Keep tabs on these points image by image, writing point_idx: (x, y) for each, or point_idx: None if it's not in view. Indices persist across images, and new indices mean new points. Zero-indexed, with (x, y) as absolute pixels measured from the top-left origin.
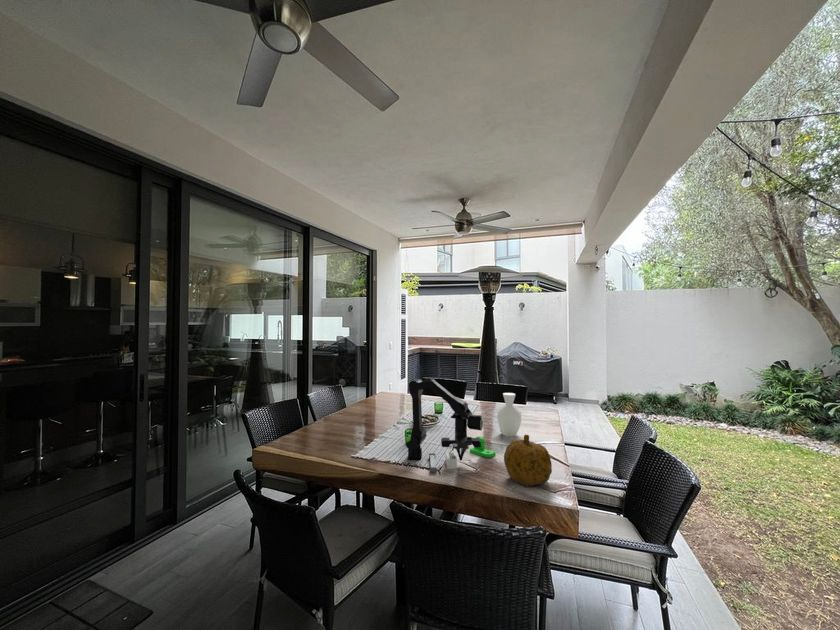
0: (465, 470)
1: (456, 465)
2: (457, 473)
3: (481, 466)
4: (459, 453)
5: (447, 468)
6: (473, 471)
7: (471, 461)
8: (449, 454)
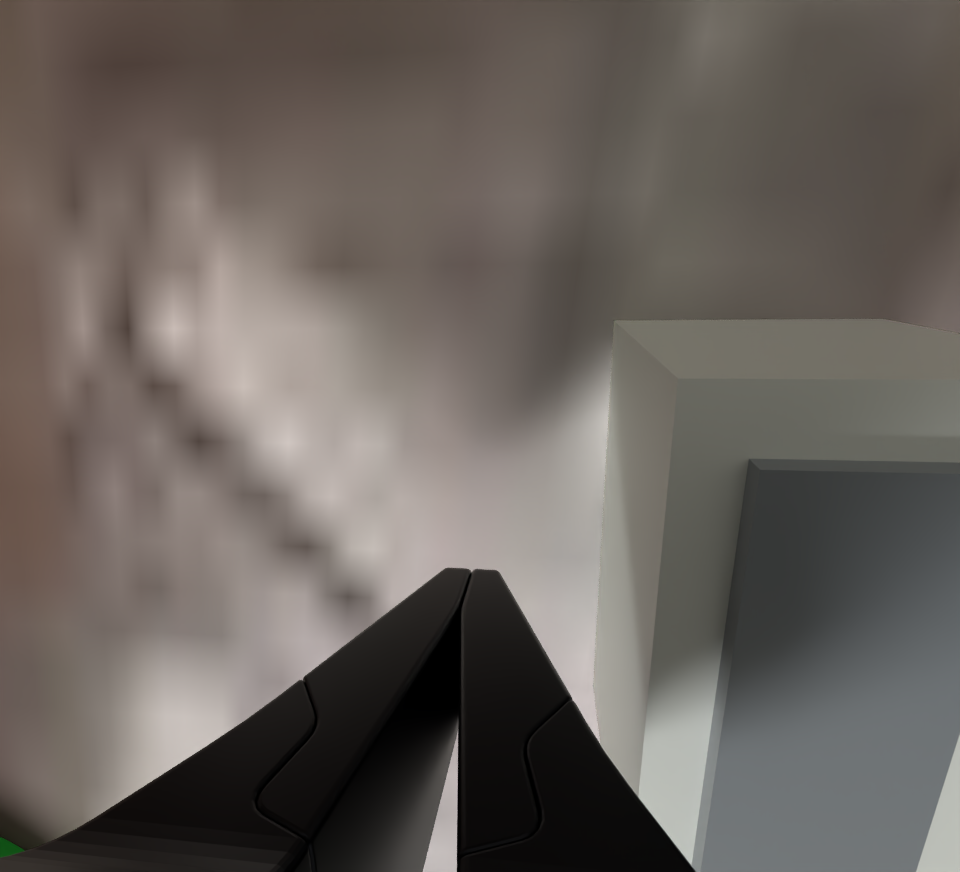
0: (393, 249)
1: (641, 331)
2: (646, 19)
3: (30, 476)
4: (504, 723)
5: (891, 324)
6: (193, 186)
7: (240, 711)
8: (921, 809)
